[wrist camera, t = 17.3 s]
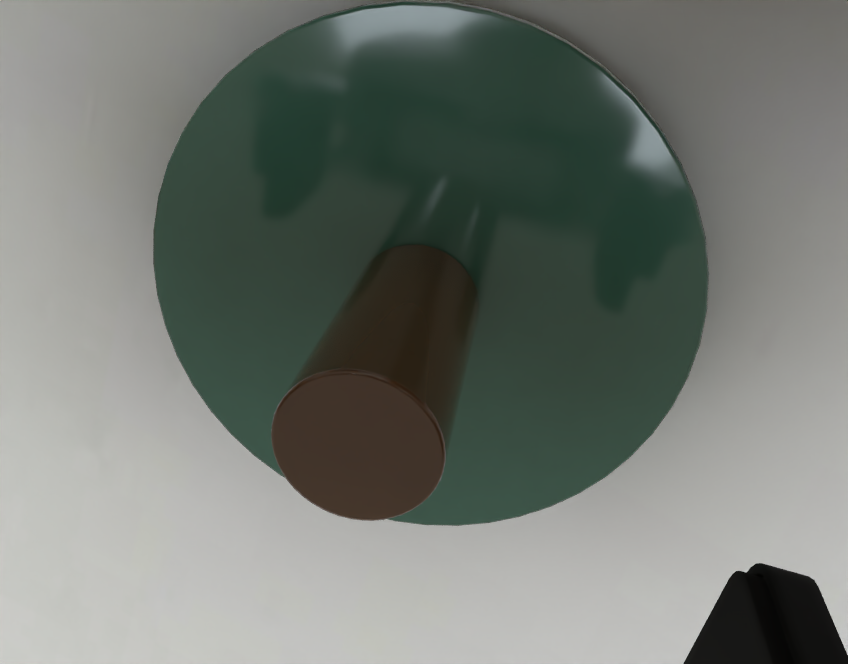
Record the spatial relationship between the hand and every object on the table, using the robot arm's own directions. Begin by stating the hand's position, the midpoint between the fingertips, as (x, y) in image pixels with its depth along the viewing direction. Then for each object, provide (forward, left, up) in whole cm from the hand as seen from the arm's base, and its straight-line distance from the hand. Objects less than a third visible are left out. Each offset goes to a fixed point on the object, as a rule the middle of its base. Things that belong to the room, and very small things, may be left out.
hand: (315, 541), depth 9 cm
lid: (0, 0, -7) cm, 7 cm away
